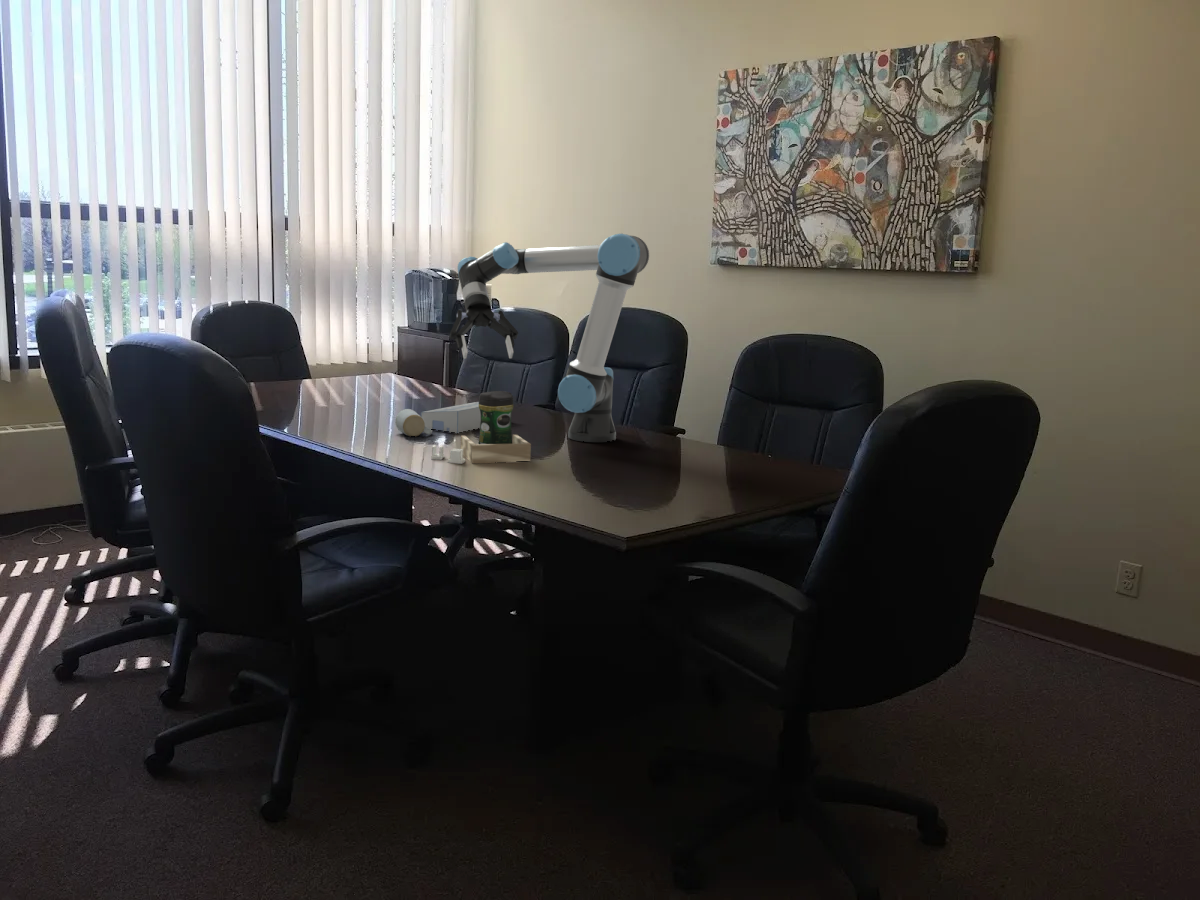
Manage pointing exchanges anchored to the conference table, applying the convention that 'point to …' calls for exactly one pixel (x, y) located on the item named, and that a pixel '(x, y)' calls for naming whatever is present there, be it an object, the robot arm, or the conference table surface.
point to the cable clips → (455, 455)
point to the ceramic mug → (411, 423)
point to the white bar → (453, 418)
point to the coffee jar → (495, 417)
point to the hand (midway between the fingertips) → (488, 355)
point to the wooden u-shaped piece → (496, 451)
